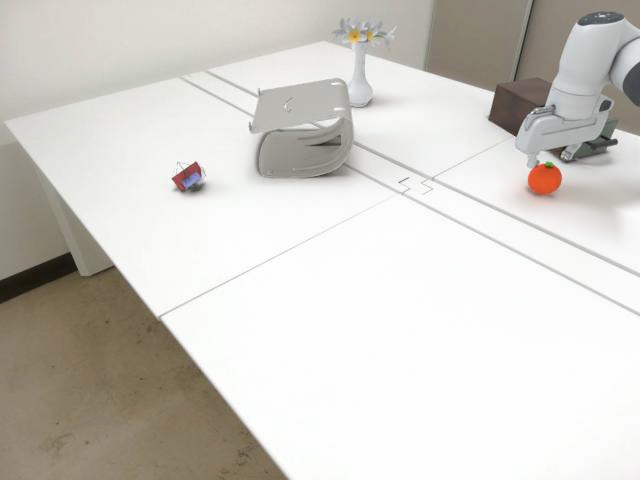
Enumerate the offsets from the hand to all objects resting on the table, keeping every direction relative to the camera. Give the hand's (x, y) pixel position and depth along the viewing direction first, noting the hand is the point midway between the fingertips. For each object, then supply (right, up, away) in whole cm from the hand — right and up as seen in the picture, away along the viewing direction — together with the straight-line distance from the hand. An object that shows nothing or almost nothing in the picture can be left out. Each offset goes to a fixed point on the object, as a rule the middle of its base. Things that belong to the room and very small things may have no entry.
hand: (548, 163), depth 100 cm
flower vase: (-37, +27, +45) cm, 64 cm away
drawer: (+15, +8, +20) cm, 26 cm away
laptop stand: (-54, +6, +19) cm, 58 cm away
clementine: (0, -6, +5) cm, 7 cm away
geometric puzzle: (-80, -5, +6) cm, 80 cm away
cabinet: (+9, +16, +31) cm, 36 cm away
